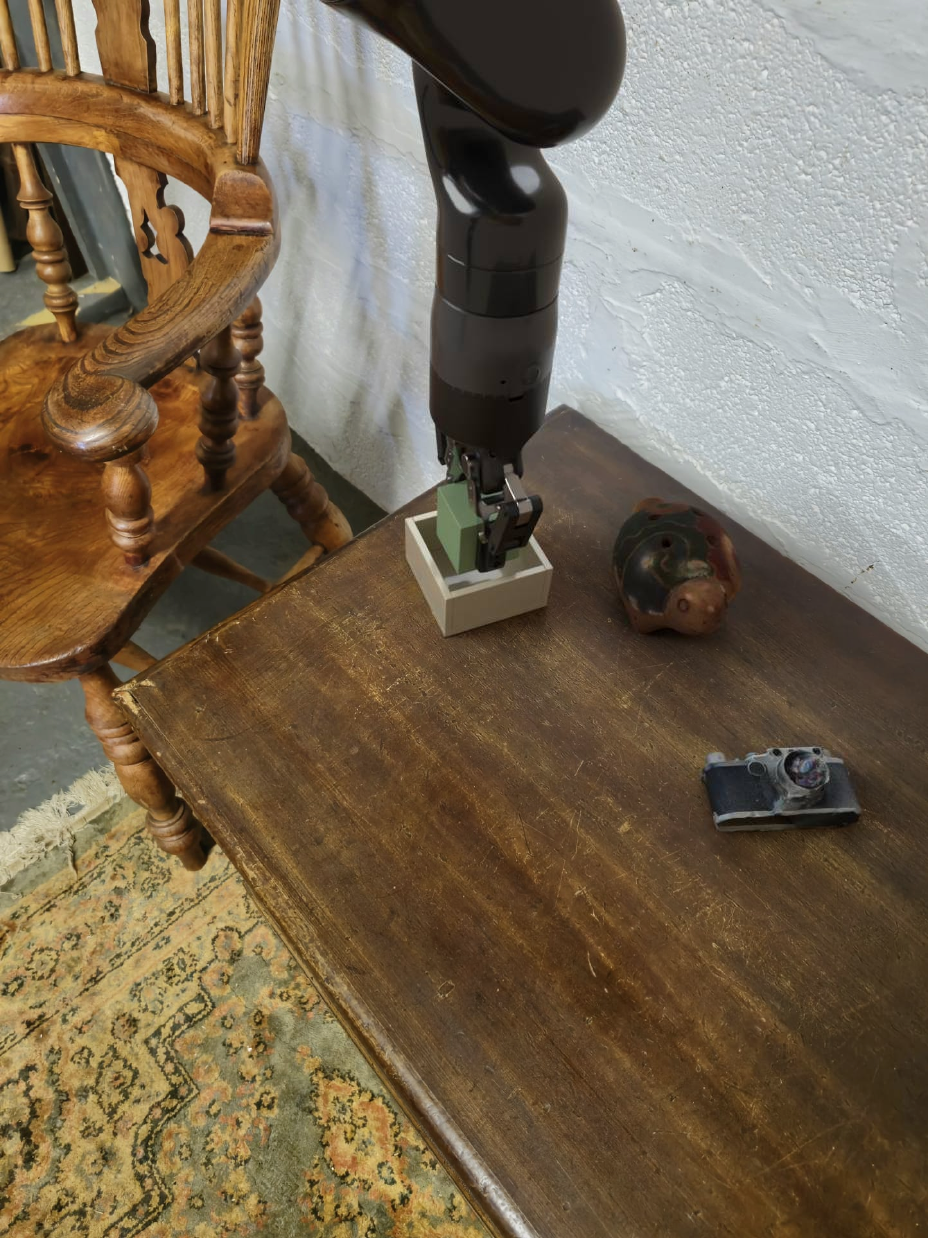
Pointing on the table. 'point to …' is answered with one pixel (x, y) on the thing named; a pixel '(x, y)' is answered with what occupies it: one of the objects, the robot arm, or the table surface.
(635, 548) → the decorative turtle
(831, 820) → the camera
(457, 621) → the open square box
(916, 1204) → the table surface
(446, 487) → the green box
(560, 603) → the table surface
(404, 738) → the table surface
